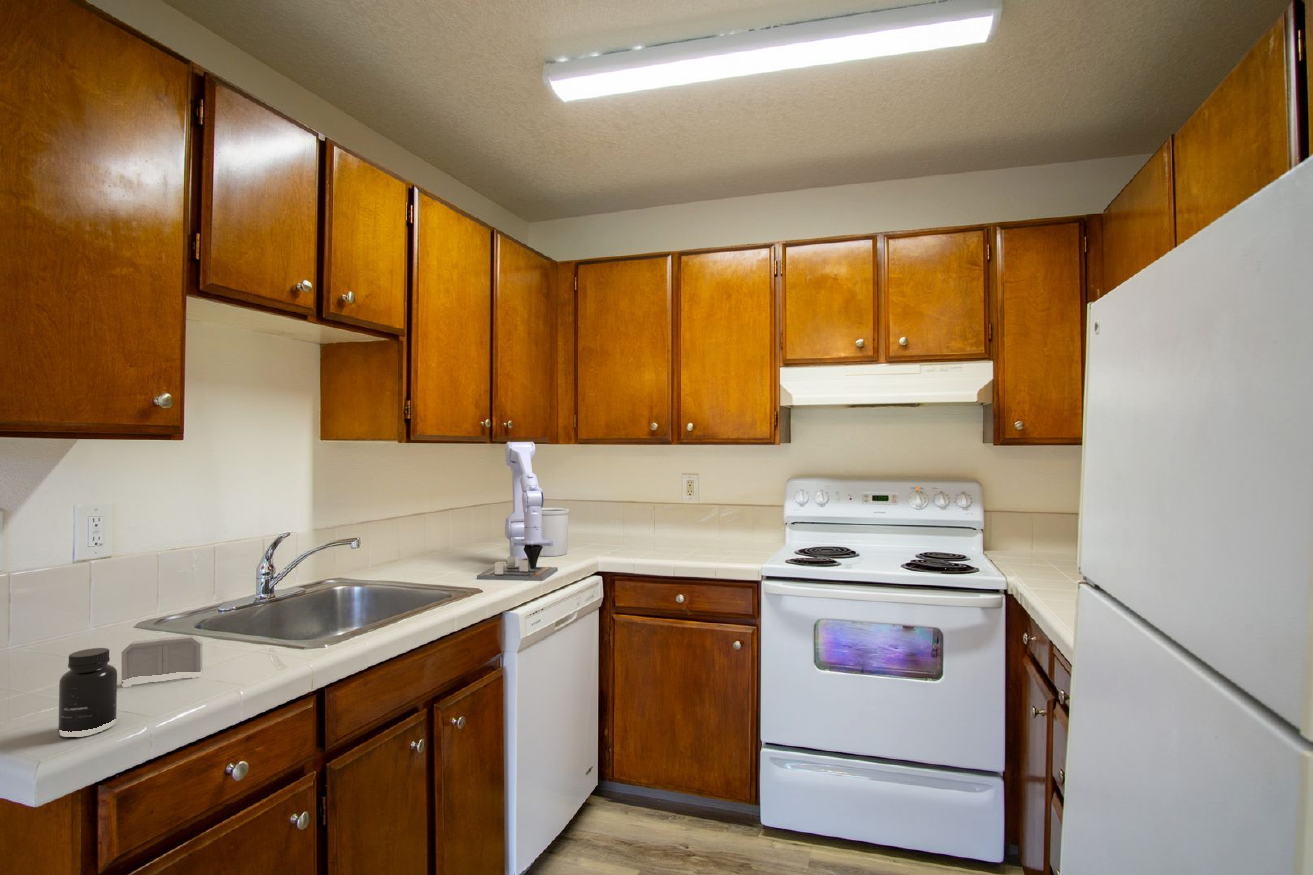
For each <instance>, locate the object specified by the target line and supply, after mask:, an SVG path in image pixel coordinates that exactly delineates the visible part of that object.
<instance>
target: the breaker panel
mask: <svg viewBox="0 0 1313 875" xmlns="http://www.w3.org/2000/svg"><path fill="white" fill-rule="evenodd" d="M506 564H507V566H506ZM558 570H559V568H558V567H556V566H554V567H553V566H536V568H534V569H531V570H529V571H520V570H519V566H518V556H510V555H508V556H507V558H506V561H496V562H494V566H493V567H491V568H489V569H487V570H485V571H483V572H481V573H479V574H477V575H476V580H493V581H495V580H496V581H497V580H499V581H500V580H501V581H534V582H535V581H536V582H538V581H539V582H543V581H545V580H546V579H548V578H549V577H550V576H552V575H554V574H555V573H557V572H558Z"/></svg>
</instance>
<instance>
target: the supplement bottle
mask: <svg viewBox="0 0 1313 875" xmlns="http://www.w3.org/2000/svg"><path fill="white" fill-rule="evenodd" d="M110 658H111V657H110V649H109V648H107V647H95V648H93V647H92V648H87V649H86V648H85V649H82V650H77V651H74V652H72V653H70V654H69V655H68V663H67V669H69V670H68V671H67V672H65V673H64V674H63V675H62V676H61V677H60V679H59V684H58V685H59V686H58V687H59V688H58V731H59V730H62V731H68V732H69V731H70V732H72V731H82V730H88V729H93V728H97V727H99V726H102V725H103V724H106V723H109V722H111V721H112V720H114V719H116V720H117V711H118V710H117V706H118V704H117V703H118V702H117V701H118V693H117V692H118V670H117V669H116V668H115V666H114V665H111V664H108V663H109V662H110V661H111V659H110Z"/></svg>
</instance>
